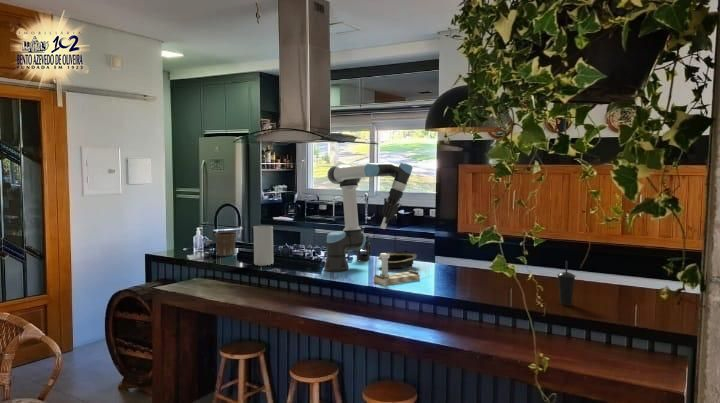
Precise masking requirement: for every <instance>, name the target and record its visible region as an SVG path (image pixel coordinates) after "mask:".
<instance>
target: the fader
mask: <svg viewBox="0 0 720 403" xmlns="http://www.w3.org/2000/svg"><path fill="white" fill-rule="evenodd" d="M379 257H381V258H382V261H381V272H380V274H379V276H383V277H384V278H387V277H390V274H391V273H389V268H388V258H390V254H386V252H381V253H379Z"/></svg>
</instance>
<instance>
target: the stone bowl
mask: <svg viewBox="0 0 720 403" xmlns="http://www.w3.org/2000/svg"><path fill="white" fill-rule="evenodd" d="M385 253H386V252H385ZM386 254H390V258H388V269H390V270H394V269H398V268H403V267H409V268H411V267H413V264H414V260H416V259H417V257H418V254H416V253H415V252H413V251H407V250H403V251H402V250H393V251H388V252H387V253H386ZM377 259H378V260H380V261H381V262H382V258H381V257H380V256H378V258H377Z"/></svg>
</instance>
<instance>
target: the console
mask: <svg viewBox="0 0 720 403" xmlns="http://www.w3.org/2000/svg"><path fill="white" fill-rule="evenodd" d="M389 274H390V277H387V278H384V277H383V276H380V274H379V275H378V274H374V276H373V282H374V283H376V284H380V285H383V286H389V285H390V286H391V285H395V284H402V283H409V282H417V281H420V275H421V274H419V271H414V270H411V269H409V270H407V271H404V272H398V273H397V272H396V273H389Z"/></svg>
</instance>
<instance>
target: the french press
mask: <svg viewBox="0 0 720 403" xmlns="http://www.w3.org/2000/svg"><path fill="white" fill-rule="evenodd" d="M359 227H360V228H361V231H364V230H365V228H367V226H359ZM364 235H365V237H366V240H369V239H370V236H371V235H370V234H364ZM364 246H365V249H364V248H362V249H359V250H356V251H357V254H356V259H357V260H360V261H359V262H369V261H371V242H370V241H366V242H365V245H364ZM364 246H363V247H364ZM361 253H362V254H361ZM364 253H365V254H364ZM357 260H356V261H357ZM368 260H369V261H368Z"/></svg>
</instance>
